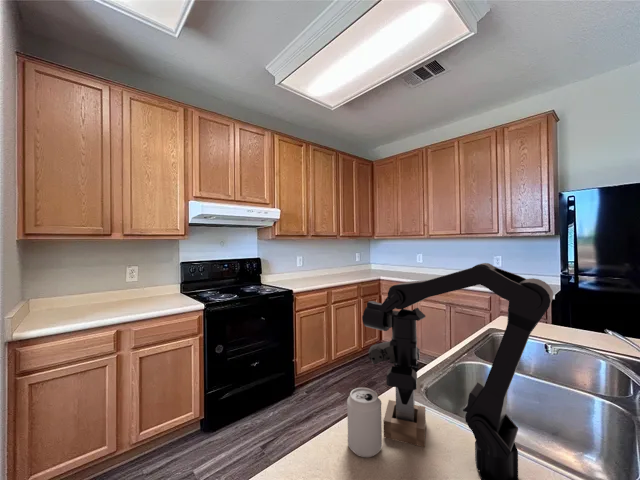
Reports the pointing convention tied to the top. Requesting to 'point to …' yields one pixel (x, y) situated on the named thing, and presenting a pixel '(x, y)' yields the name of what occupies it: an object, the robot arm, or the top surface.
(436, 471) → the top surface
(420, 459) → the top surface
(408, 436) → the socket
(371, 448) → the can
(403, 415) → the peg
